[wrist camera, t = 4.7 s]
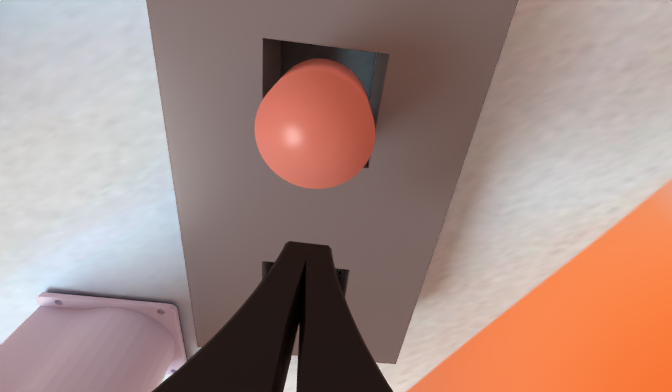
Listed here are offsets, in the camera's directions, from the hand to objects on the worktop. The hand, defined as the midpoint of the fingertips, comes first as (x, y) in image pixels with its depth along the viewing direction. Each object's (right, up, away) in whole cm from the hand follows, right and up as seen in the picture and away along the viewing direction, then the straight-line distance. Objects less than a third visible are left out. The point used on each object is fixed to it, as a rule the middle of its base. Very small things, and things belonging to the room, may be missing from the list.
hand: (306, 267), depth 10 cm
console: (0, +3, +8) cm, 9 cm away
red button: (0, +6, +2) cm, 6 cm away
